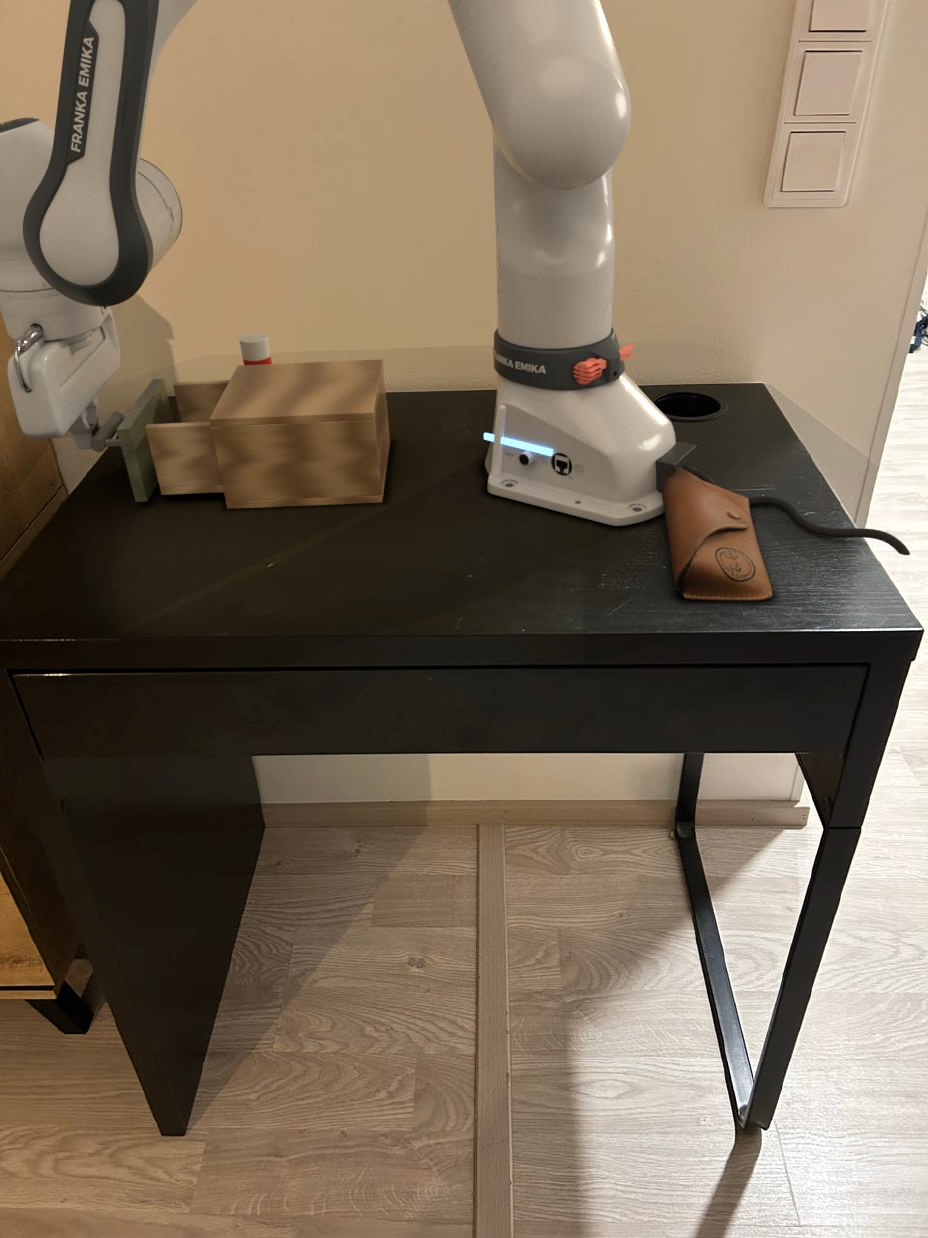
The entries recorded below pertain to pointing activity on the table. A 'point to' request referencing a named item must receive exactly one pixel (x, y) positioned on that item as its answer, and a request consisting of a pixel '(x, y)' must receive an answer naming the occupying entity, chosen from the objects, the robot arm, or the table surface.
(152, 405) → the drawer
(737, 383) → the table surface
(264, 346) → the glue stick
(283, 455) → the cabinet
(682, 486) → the sunglasses case
